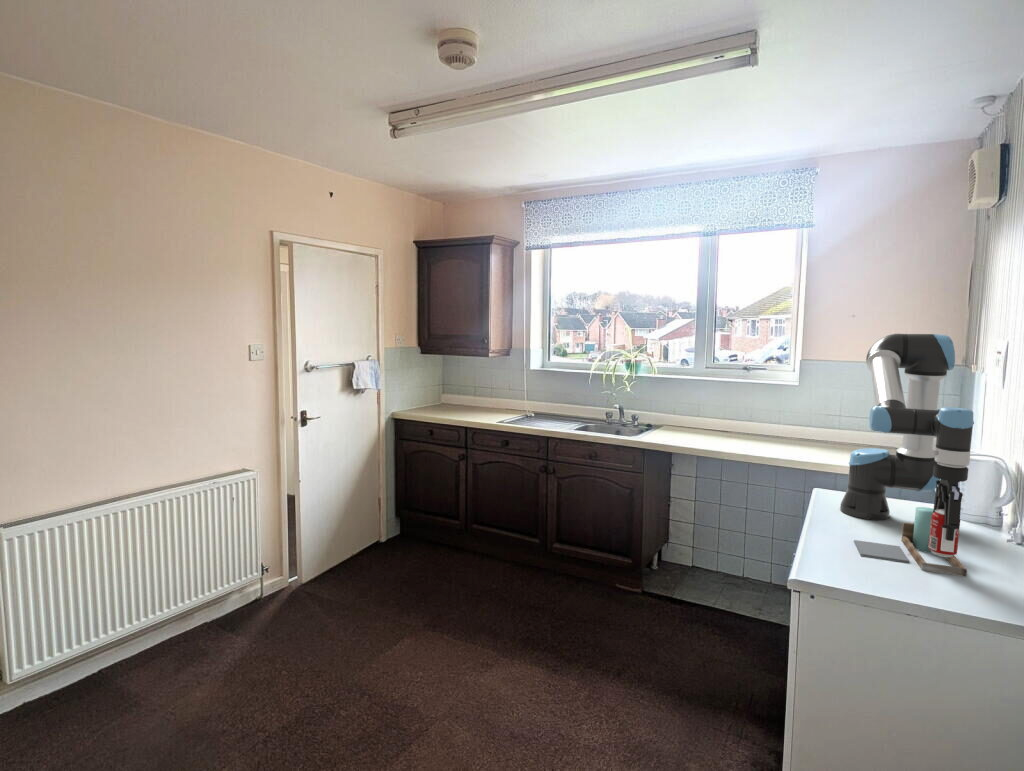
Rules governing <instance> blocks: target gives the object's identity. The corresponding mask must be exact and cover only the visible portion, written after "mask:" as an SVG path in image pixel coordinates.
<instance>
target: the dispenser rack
mask: <svg viewBox="0 0 1024 771" xmlns="http://www.w3.org/2000/svg"><path fill="white" fill-rule="evenodd" d="M913 533H914V523H911V522H903V523H902V531H901V542H902V544H903V545H904V547H905V548H906V549H907V551H908V552H909V554H910V555H911V557H912V558H913V560H914V561H915V562H916V564H917V566H919V568H920V570H921V571H926V572H927V571H928V572H932V573H933V572H934V573H939V574H946V575H953V576H959V577H967V572H968V569H967V568H966V567H965V565H963V563H962V562H961V561H960V560H959V559H958V557H956V556H955V555H954V556H952V557H945V558H946V559H947V561H948V562H949V563H950V564H951V565H945V564H940V563H931V562H926V560H925V559H924V558H923V557H922V555H921V554H920V553H919V550H917V549H916V548H915V547H914V546H913Z"/></svg>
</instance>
